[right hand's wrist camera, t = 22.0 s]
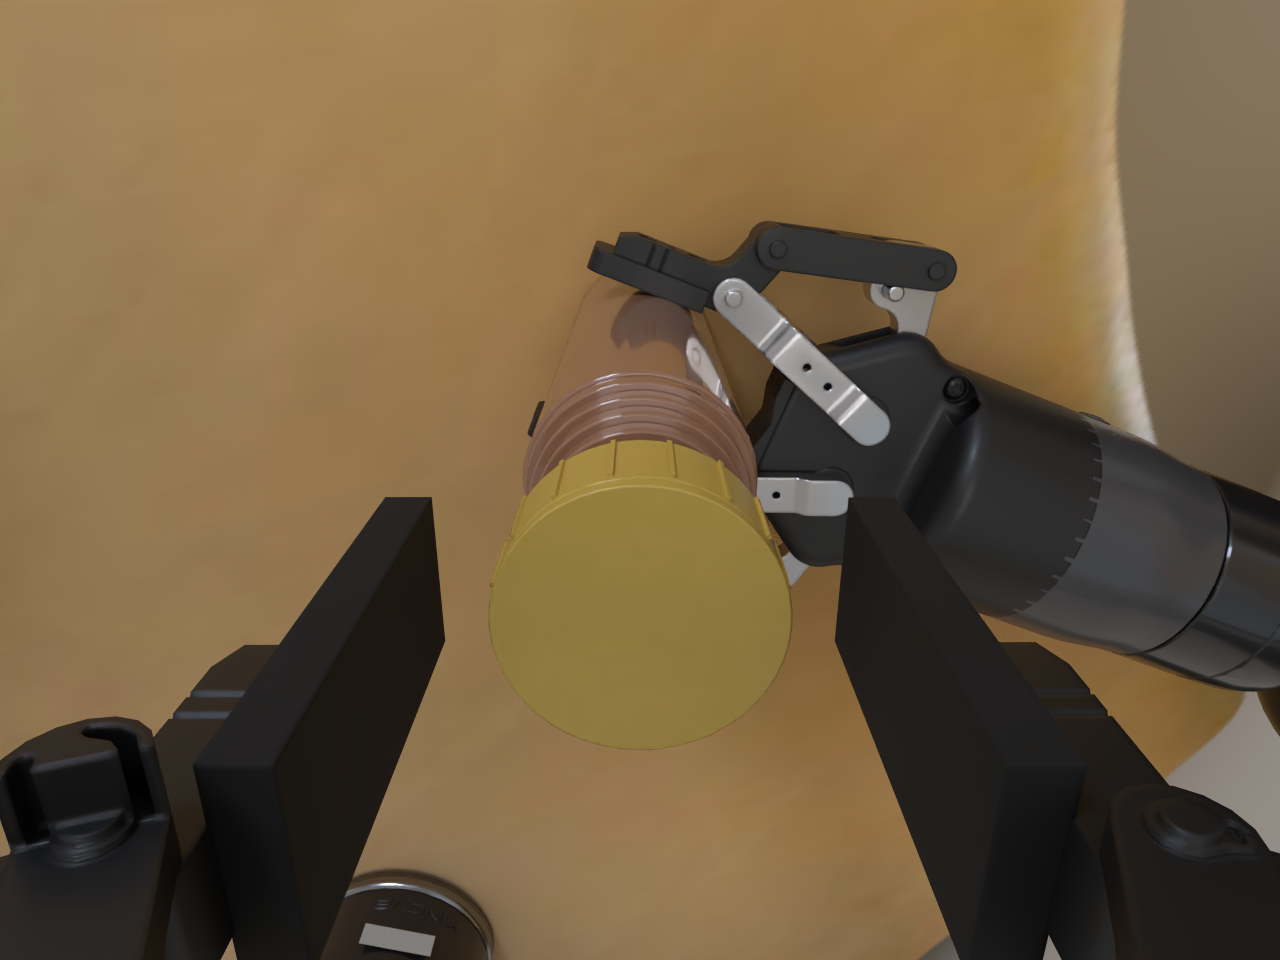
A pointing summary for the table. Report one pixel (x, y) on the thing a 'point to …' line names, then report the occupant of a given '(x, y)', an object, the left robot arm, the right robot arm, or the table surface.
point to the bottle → (639, 385)
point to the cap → (640, 597)
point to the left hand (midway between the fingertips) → (563, 339)
